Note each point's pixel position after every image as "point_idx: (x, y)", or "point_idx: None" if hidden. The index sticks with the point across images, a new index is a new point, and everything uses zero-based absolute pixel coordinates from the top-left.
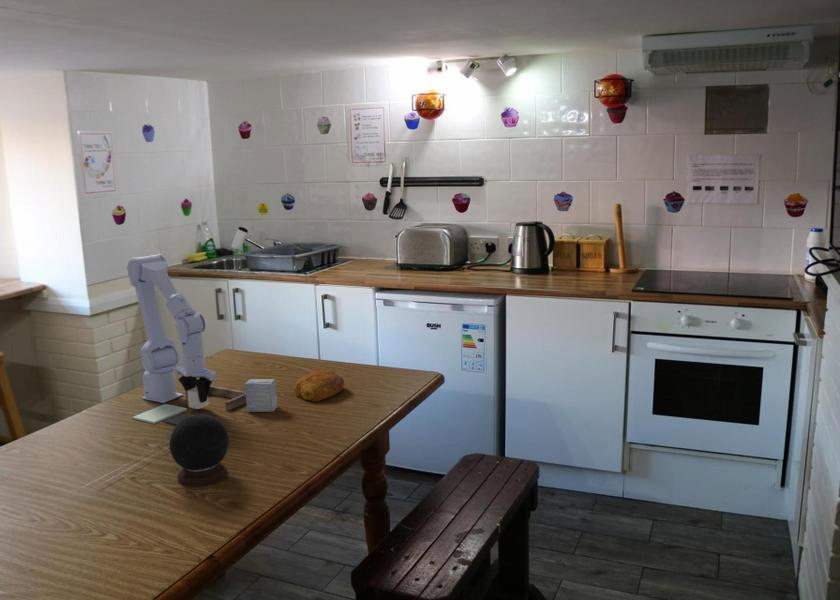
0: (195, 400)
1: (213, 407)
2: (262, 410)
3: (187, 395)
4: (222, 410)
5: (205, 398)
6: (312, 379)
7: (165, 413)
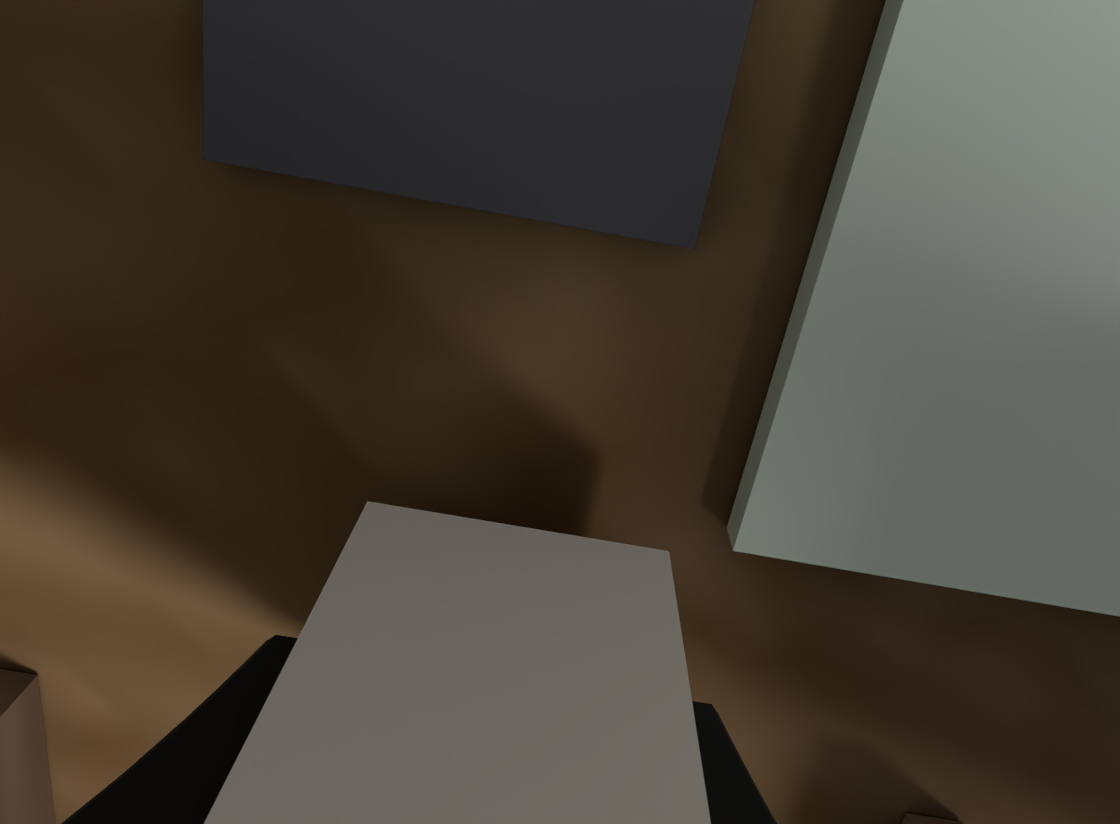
0: (399, 638)
1: None
2: None
3: (744, 793)
4: (87, 655)
5: None
6: None
7: (1079, 159)
